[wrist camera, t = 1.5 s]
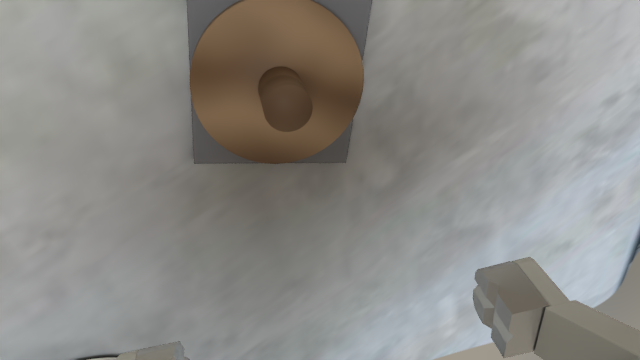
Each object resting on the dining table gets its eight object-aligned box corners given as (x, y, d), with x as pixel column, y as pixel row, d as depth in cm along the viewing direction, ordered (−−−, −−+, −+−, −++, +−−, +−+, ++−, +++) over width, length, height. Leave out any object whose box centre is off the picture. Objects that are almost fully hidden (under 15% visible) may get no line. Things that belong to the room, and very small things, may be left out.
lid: (346, 156, 33) (364, 189, 29) (193, 157, 30) (191, 193, 26) (371, 0, 27) (398, 15, 23) (186, -16, 24) (182, -2, 21)
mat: (343, 158, 33) (346, 162, 33) (194, 159, 31) (193, 163, 30) (370, -11, 27) (373, -9, 27) (186, -28, 25) (185, -26, 24)
